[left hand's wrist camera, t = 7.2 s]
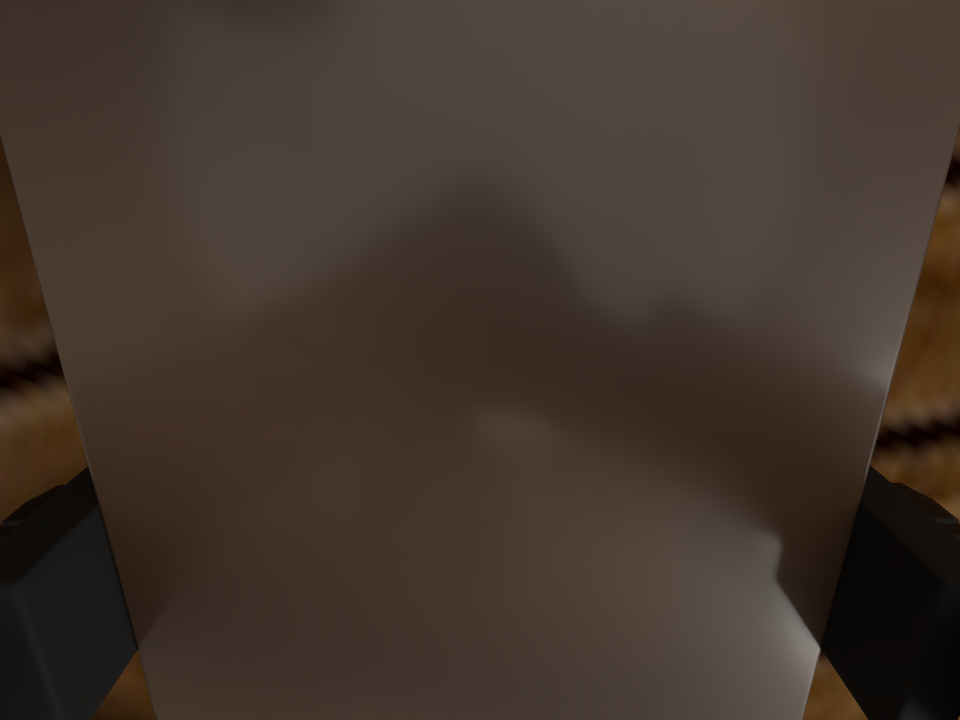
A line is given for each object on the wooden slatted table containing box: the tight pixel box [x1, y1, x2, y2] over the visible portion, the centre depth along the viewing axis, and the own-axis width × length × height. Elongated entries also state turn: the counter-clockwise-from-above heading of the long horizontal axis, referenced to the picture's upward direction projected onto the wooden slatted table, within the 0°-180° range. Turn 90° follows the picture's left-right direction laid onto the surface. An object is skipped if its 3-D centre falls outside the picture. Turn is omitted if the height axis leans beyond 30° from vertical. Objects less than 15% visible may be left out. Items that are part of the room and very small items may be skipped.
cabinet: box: [0, 0, 960, 720], centre depth 11 cm, size 21×11×11 cm, turn 0°
